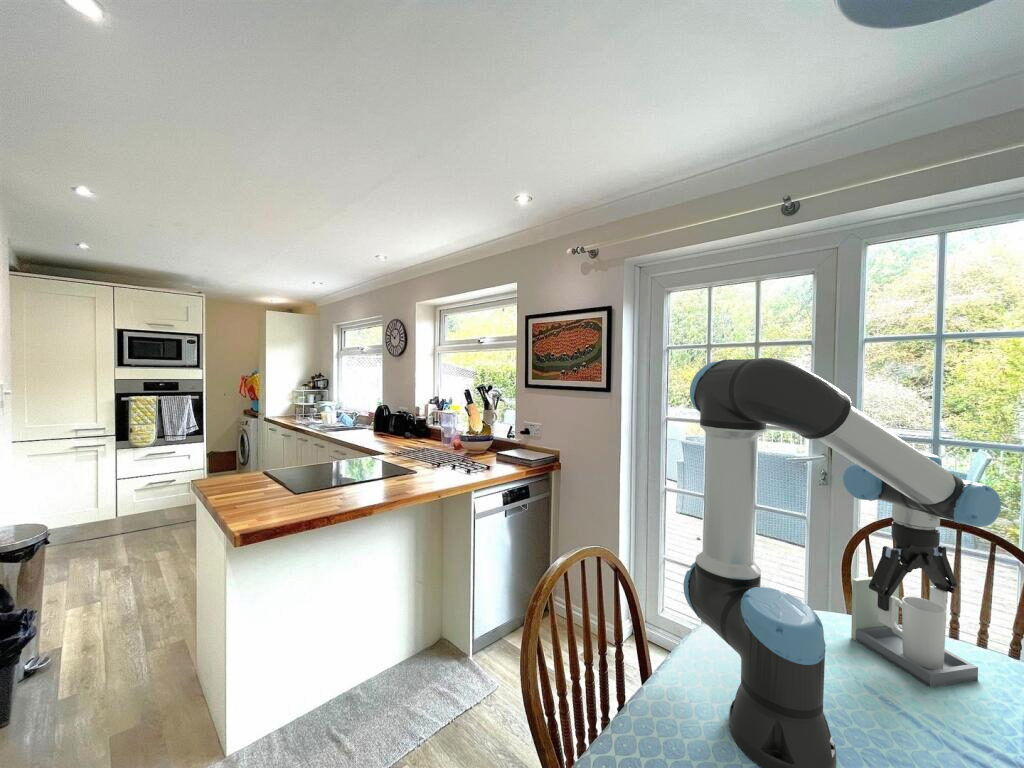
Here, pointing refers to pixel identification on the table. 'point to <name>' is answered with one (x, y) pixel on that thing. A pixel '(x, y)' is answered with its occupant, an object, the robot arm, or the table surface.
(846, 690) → the table surface
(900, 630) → the mug
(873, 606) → the mug holder
